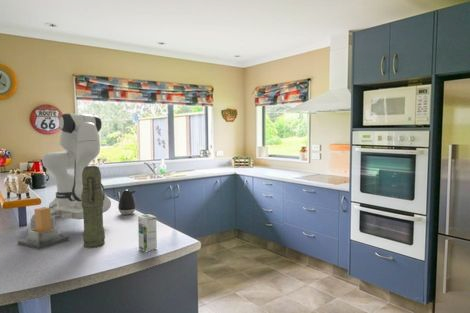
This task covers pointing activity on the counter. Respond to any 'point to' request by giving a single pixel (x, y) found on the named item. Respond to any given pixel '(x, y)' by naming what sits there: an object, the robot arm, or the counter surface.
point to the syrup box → (147, 232)
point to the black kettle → (127, 202)
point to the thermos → (92, 207)
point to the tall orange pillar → (42, 219)
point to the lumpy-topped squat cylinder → (34, 222)
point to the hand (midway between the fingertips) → (56, 215)
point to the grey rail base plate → (42, 238)
